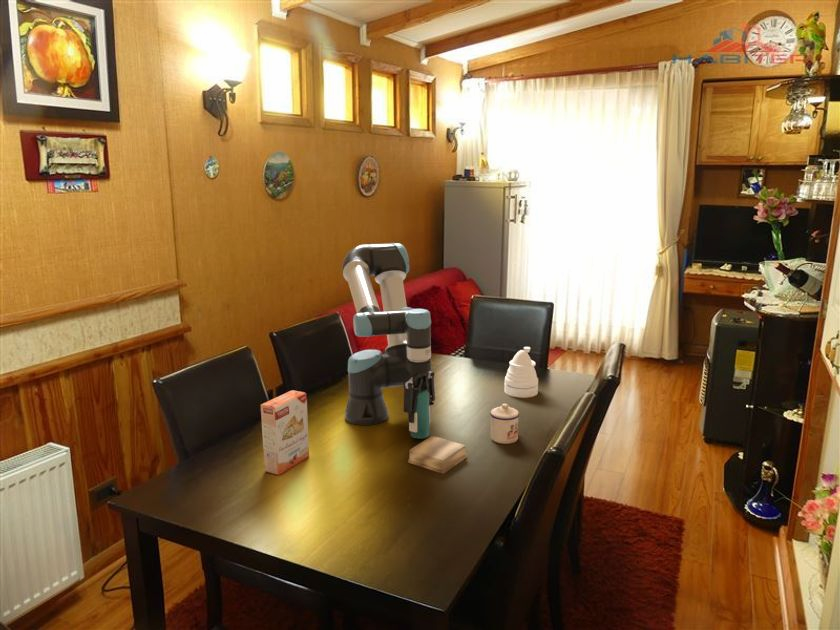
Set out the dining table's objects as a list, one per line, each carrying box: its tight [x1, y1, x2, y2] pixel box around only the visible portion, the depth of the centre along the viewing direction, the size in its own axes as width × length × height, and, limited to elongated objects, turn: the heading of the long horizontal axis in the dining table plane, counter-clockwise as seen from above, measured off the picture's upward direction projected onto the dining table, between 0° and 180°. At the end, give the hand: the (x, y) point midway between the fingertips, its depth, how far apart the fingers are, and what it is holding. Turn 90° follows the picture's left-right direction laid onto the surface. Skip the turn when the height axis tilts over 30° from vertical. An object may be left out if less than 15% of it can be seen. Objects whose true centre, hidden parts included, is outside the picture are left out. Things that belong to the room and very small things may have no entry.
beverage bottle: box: [410, 380, 431, 439], centre depth 199 cm, size 6×7×20 cm
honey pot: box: [503, 346, 539, 399], centre depth 240 cm, size 13×13×18 cm
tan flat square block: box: [407, 435, 467, 475], centre depth 186 cm, size 13×13×4 cm
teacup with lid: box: [490, 403, 520, 445], centre depth 201 cm, size 12×9×12 cm
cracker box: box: [260, 389, 310, 476], centre depth 183 cm, size 14×6×21 cm, turn 151°
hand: (419, 427), depth 200 cm, fingers closed on beverage bottle, 6 cm apart
